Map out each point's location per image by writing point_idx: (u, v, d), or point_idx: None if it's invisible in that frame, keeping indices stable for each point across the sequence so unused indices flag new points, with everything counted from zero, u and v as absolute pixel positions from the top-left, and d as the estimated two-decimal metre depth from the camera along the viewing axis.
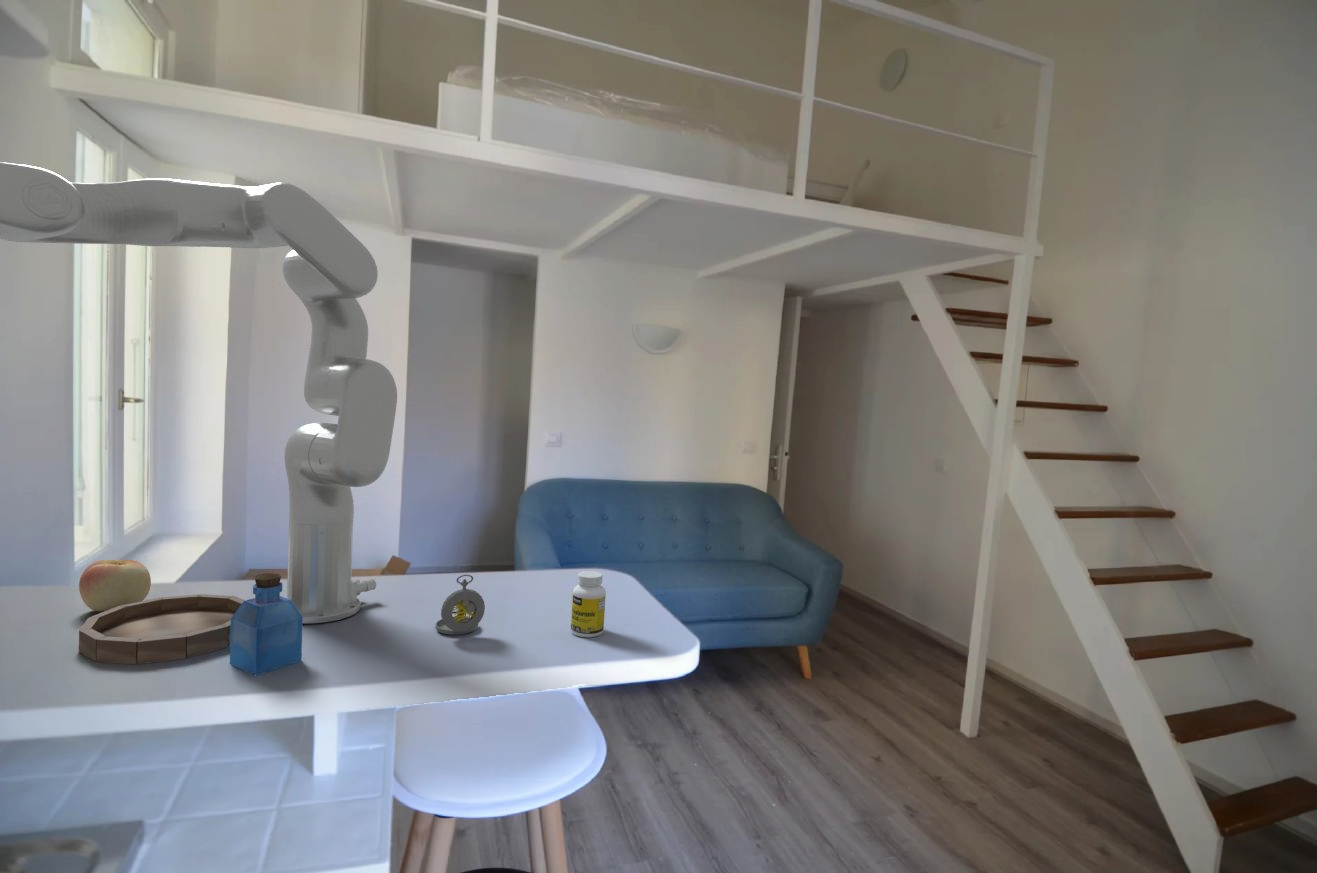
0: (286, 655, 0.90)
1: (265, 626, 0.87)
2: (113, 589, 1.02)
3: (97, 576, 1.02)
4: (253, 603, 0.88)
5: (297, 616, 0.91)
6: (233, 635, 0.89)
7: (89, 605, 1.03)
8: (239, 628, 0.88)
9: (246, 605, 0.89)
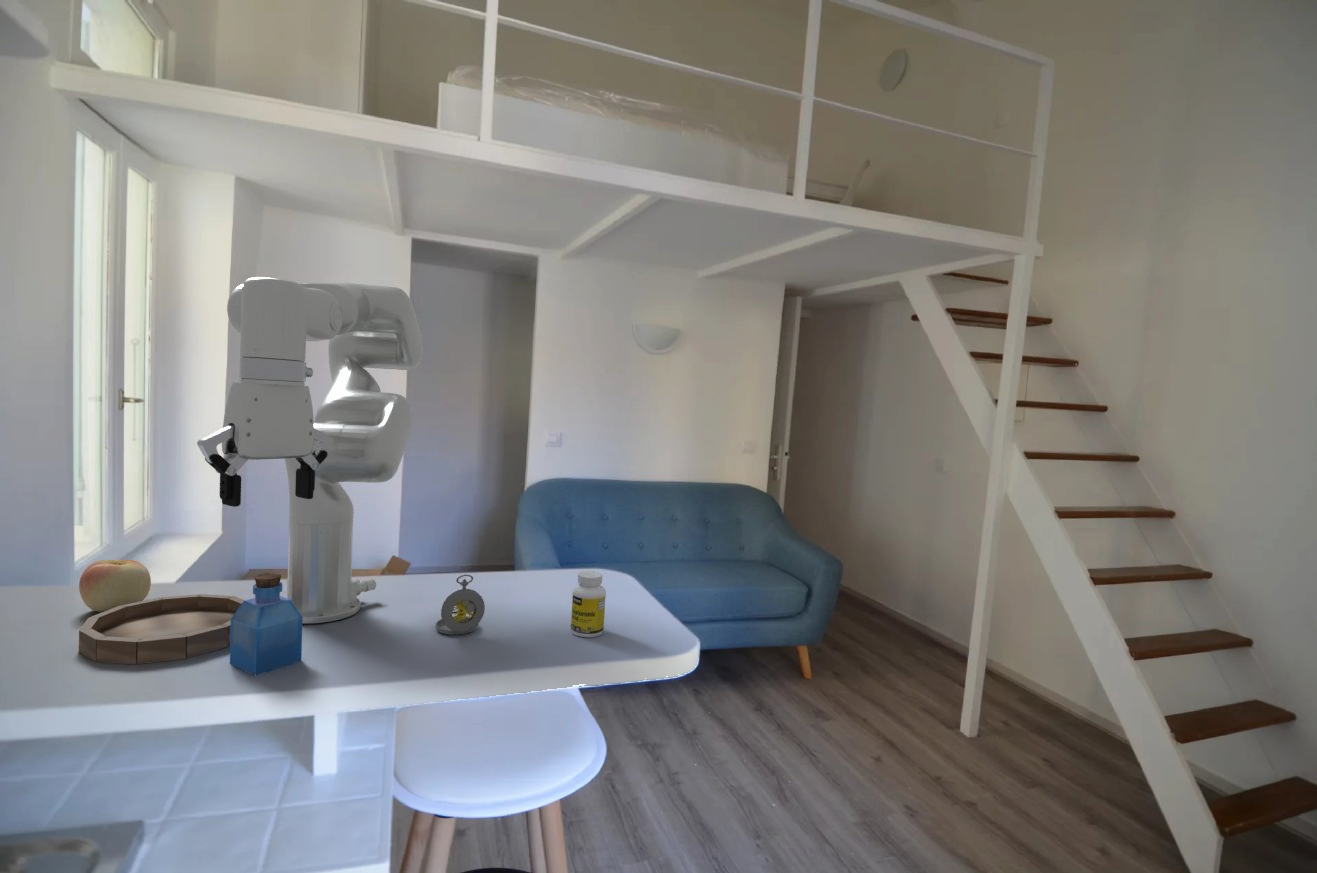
0: (286, 655, 0.90)
1: (265, 626, 0.87)
2: (113, 589, 1.02)
3: (97, 576, 1.02)
4: (253, 603, 0.88)
5: (297, 616, 0.91)
6: (233, 635, 0.89)
7: (89, 605, 1.03)
8: (239, 628, 0.88)
9: (246, 605, 0.89)
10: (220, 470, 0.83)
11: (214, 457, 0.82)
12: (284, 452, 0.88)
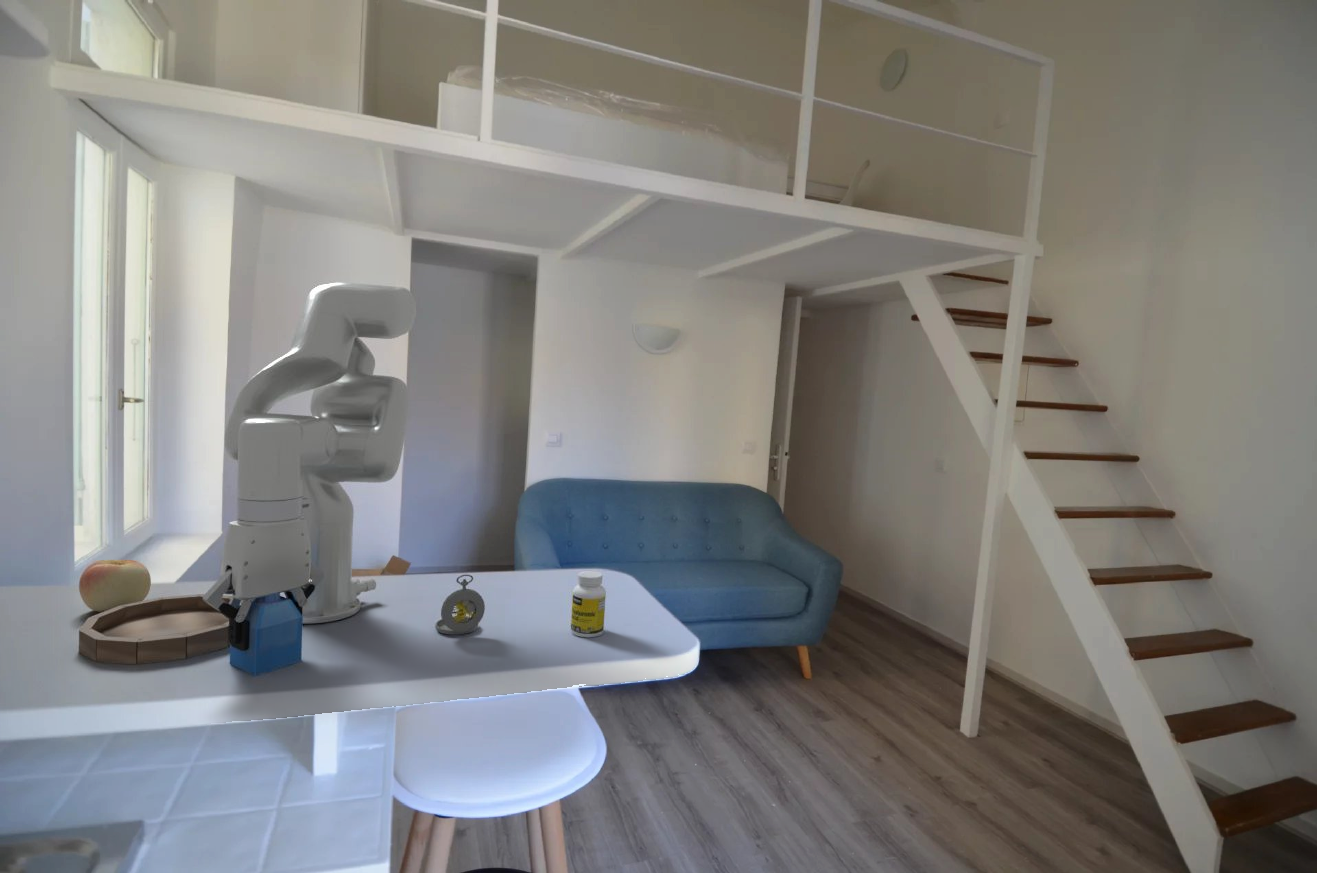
0: (286, 655, 0.90)
1: (265, 625, 0.87)
2: (113, 589, 1.02)
3: (97, 576, 1.02)
4: (253, 603, 0.88)
5: (297, 616, 0.91)
6: None
7: (89, 605, 1.03)
8: None
9: None
10: (229, 617, 0.85)
11: (223, 607, 0.84)
12: (281, 587, 0.89)
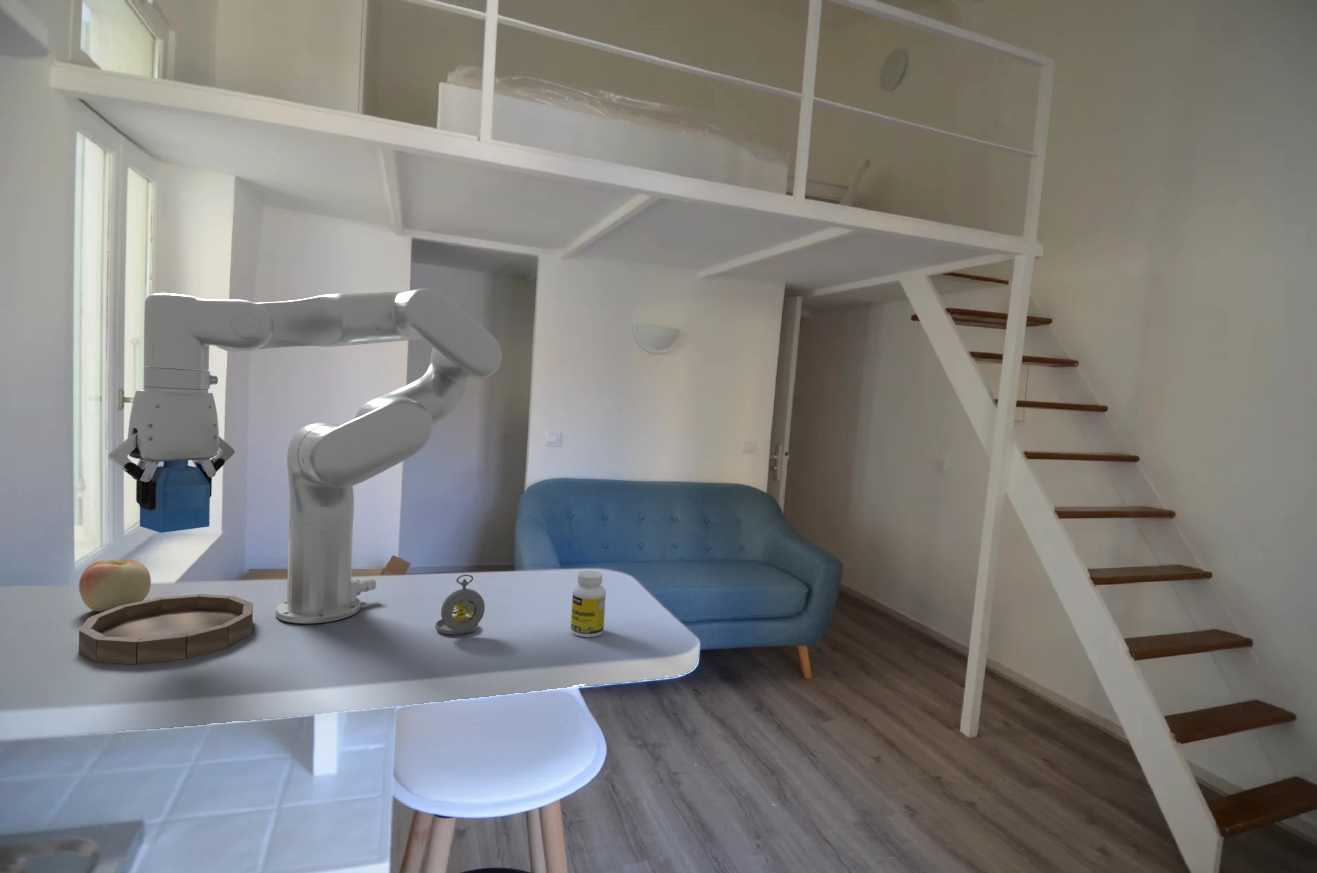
0: (193, 518, 0.95)
1: (171, 487, 0.93)
2: (113, 589, 1.02)
3: (97, 576, 1.02)
4: (161, 467, 0.94)
5: (204, 483, 0.96)
6: None
7: (89, 605, 1.03)
8: None
9: None
10: (135, 477, 0.91)
11: (129, 465, 0.90)
12: (188, 454, 0.95)
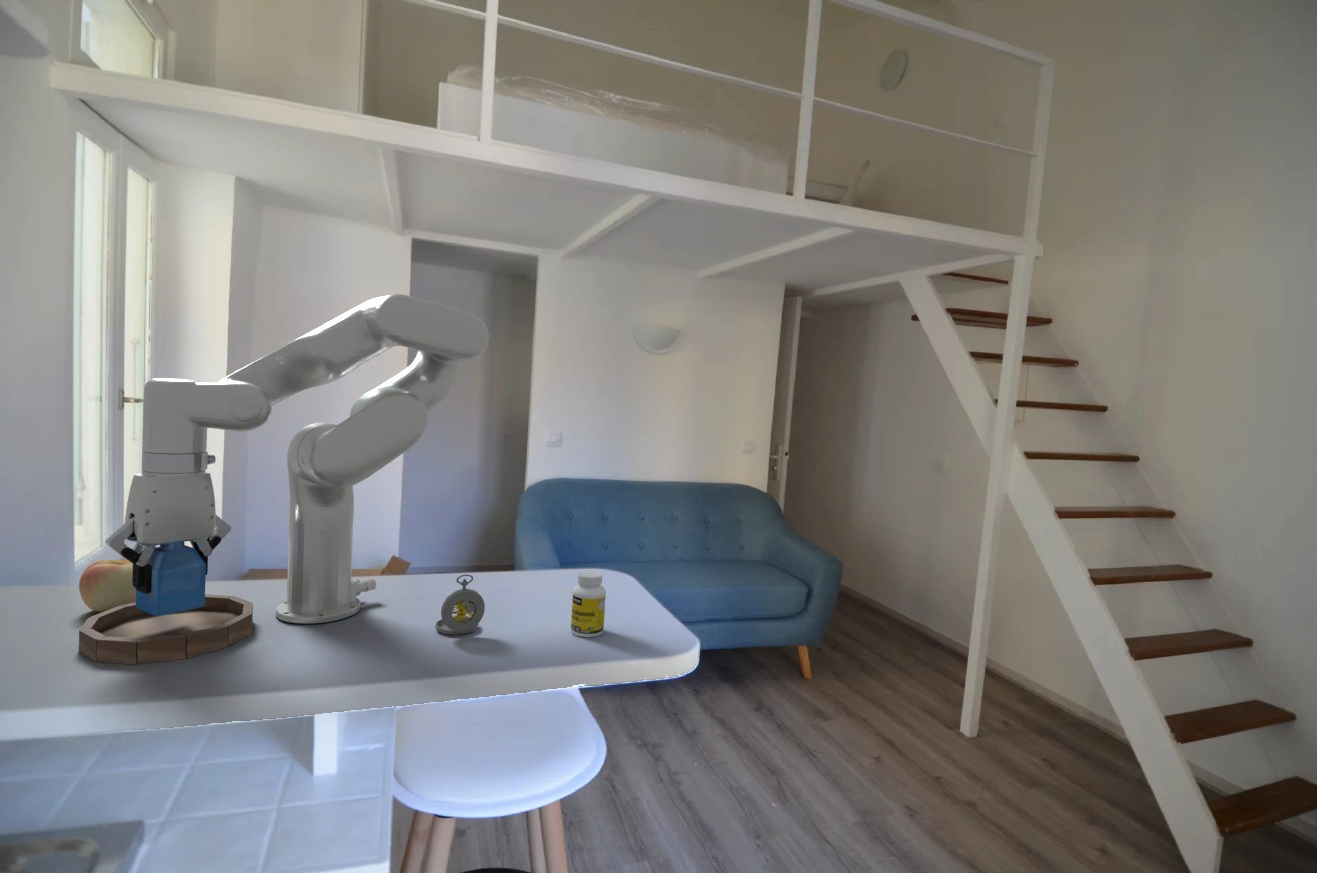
0: (189, 599, 0.96)
1: (167, 570, 0.93)
2: (114, 589, 1.02)
3: (97, 576, 1.02)
4: (157, 550, 0.95)
5: (200, 564, 0.97)
6: None
7: (89, 605, 1.03)
8: None
9: None
10: (132, 561, 0.92)
11: (125, 551, 0.91)
12: (184, 536, 0.96)
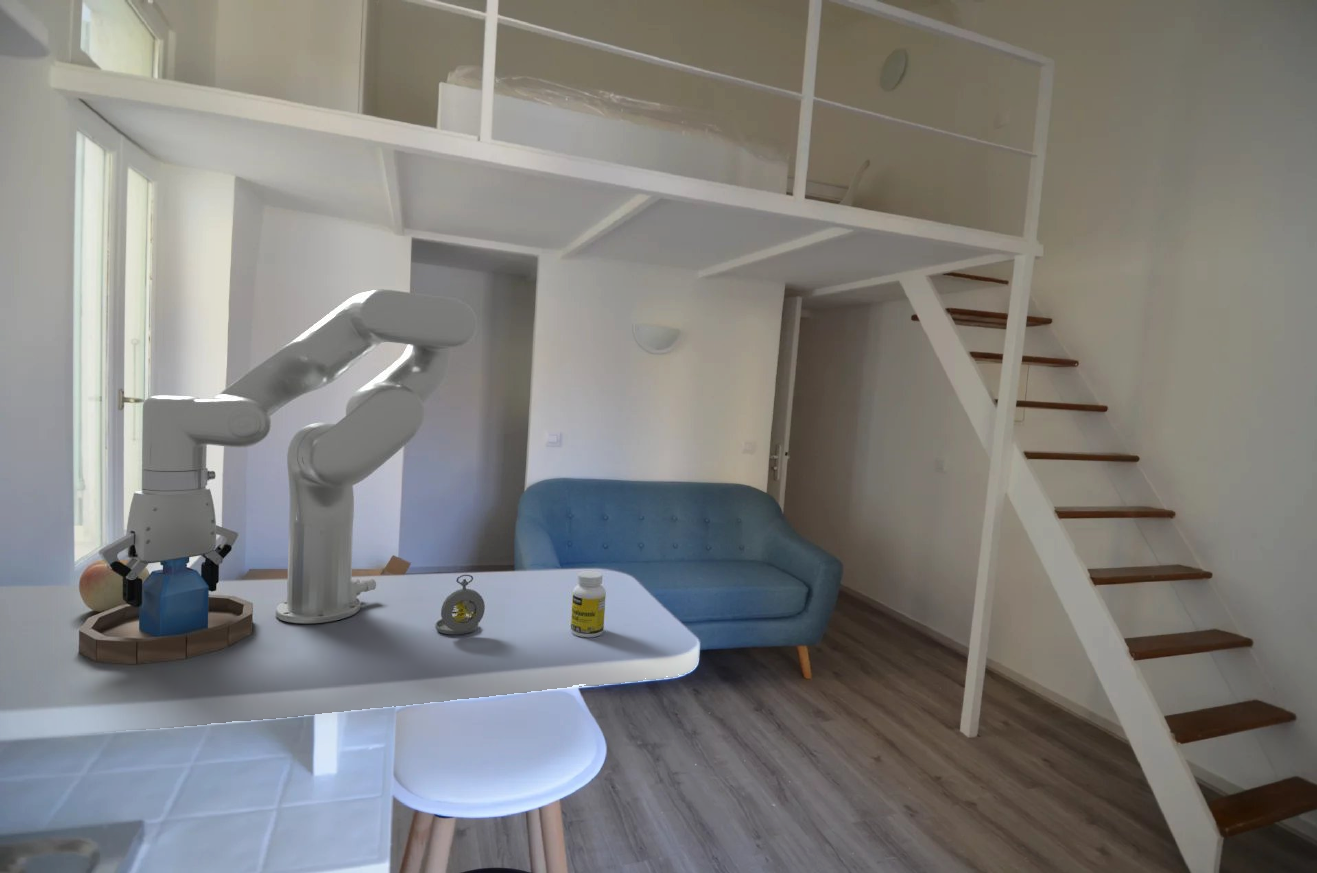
0: (192, 622, 0.97)
1: (170, 593, 0.94)
2: (113, 589, 1.02)
3: (97, 576, 1.02)
4: (160, 573, 0.95)
5: (203, 586, 0.98)
6: None
7: (89, 605, 1.03)
8: (146, 596, 0.95)
9: (154, 575, 0.95)
10: (121, 575, 0.91)
11: (115, 565, 0.90)
12: (185, 553, 0.96)
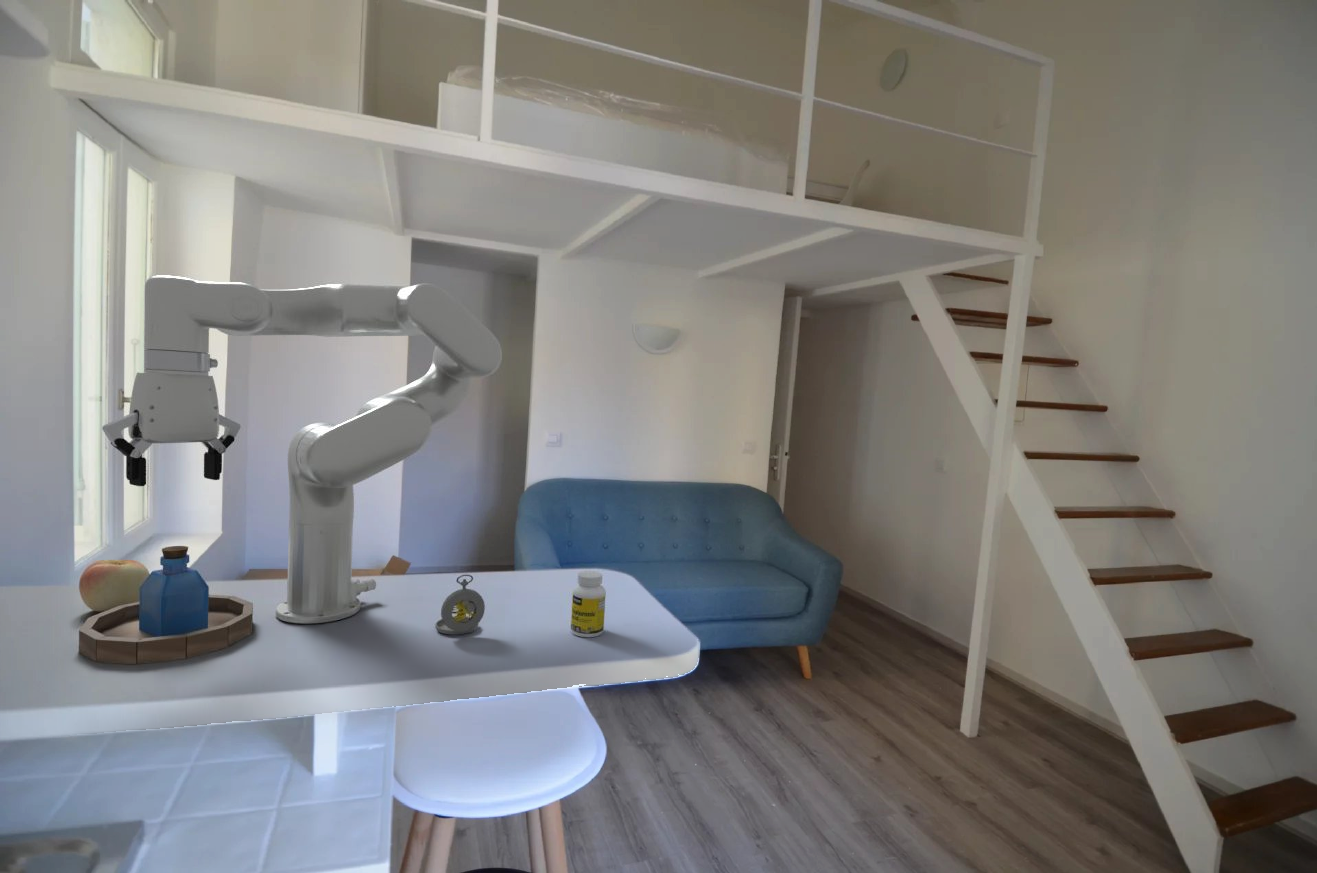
0: (192, 622, 0.97)
1: (170, 593, 0.94)
2: (113, 589, 1.02)
3: (97, 576, 1.02)
4: (160, 573, 0.95)
5: (203, 586, 0.98)
6: (141, 603, 0.96)
7: (89, 605, 1.03)
8: (146, 596, 0.95)
9: (154, 575, 0.95)
10: (125, 453, 0.91)
11: (119, 441, 0.89)
12: (189, 436, 0.96)
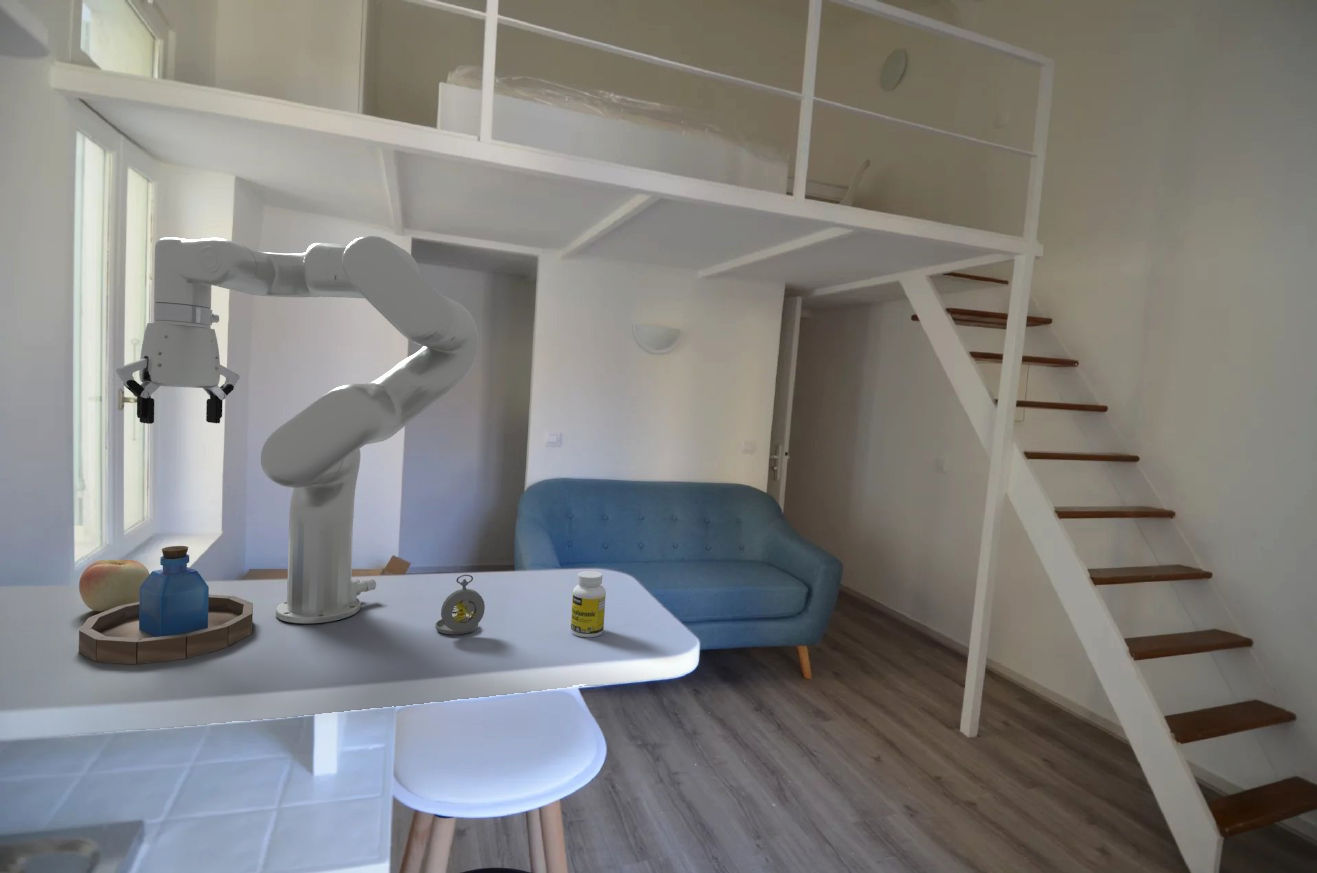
0: (192, 622, 0.97)
1: (170, 593, 0.94)
2: (113, 589, 1.02)
3: (97, 576, 1.02)
4: (160, 573, 0.95)
5: (203, 586, 0.98)
6: (141, 603, 0.96)
7: (89, 605, 1.03)
8: (146, 596, 0.95)
9: (154, 575, 0.95)
10: (136, 393, 1.02)
11: (130, 382, 1.01)
12: (192, 382, 1.08)
